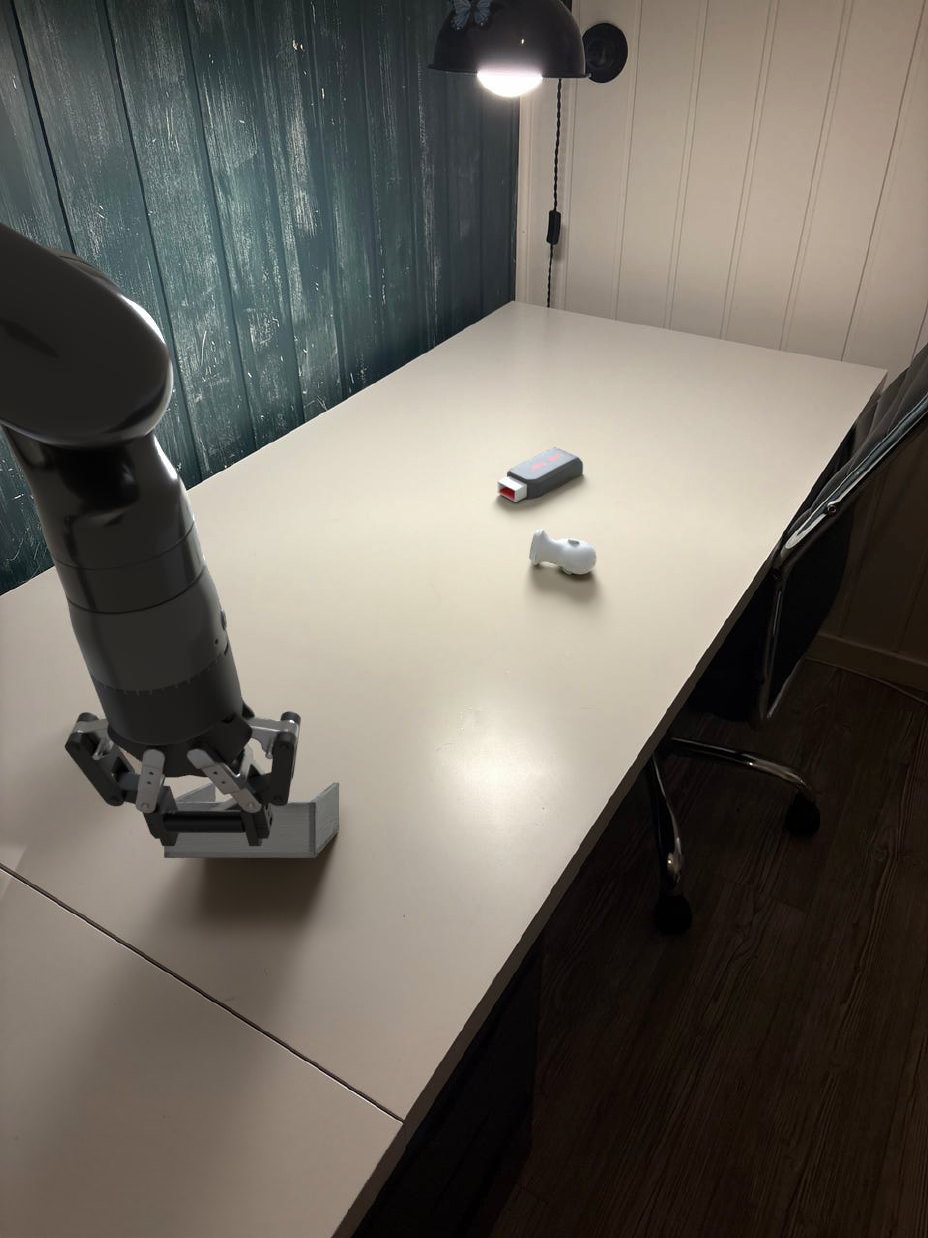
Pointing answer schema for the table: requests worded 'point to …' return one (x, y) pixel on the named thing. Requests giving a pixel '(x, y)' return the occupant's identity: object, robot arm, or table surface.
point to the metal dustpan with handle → (223, 834)
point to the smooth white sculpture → (562, 553)
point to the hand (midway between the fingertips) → (215, 835)
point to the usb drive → (540, 475)
